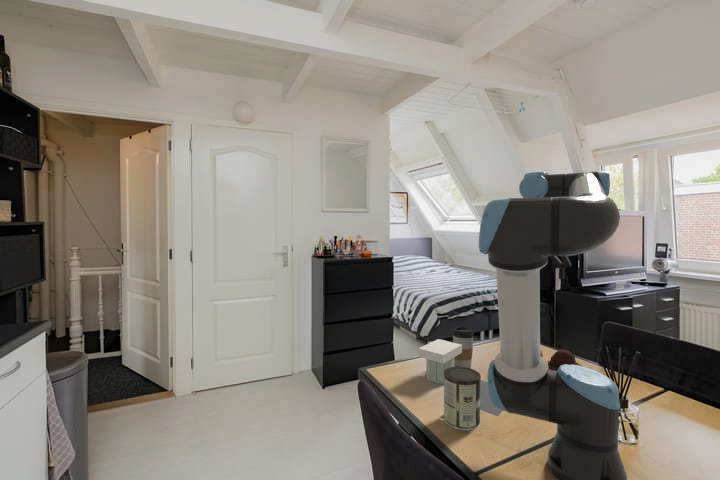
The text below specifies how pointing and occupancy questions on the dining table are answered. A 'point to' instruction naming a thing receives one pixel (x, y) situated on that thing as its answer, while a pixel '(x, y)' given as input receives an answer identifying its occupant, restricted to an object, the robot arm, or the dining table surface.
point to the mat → (487, 400)
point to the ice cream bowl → (561, 360)
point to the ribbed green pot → (437, 370)
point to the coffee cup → (463, 345)
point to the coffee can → (462, 398)
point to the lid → (440, 350)
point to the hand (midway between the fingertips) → (534, 286)
